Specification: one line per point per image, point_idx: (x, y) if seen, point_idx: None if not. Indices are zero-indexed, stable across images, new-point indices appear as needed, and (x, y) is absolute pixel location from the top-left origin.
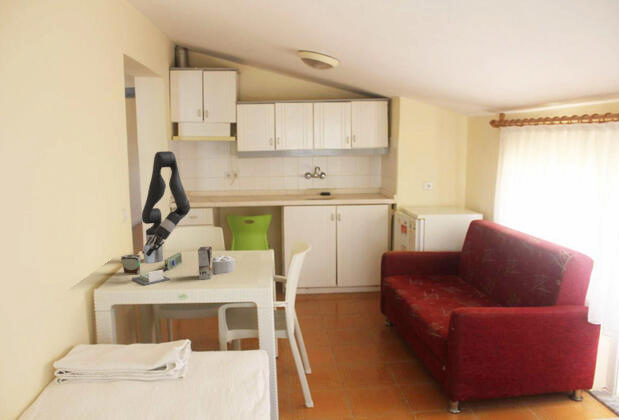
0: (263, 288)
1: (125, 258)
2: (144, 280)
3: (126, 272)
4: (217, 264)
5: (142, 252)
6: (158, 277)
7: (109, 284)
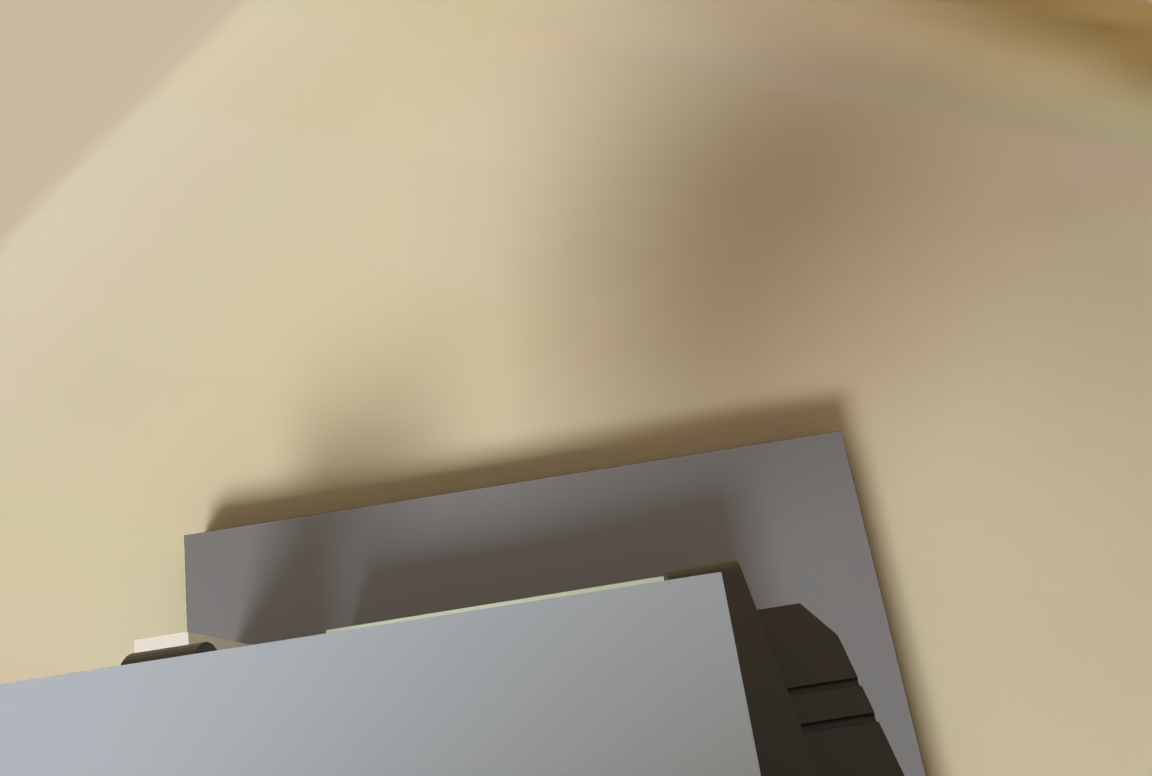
0: None
1: None
2: (451, 608)
3: None
4: None
5: (687, 567)
6: None
7: (742, 43)
